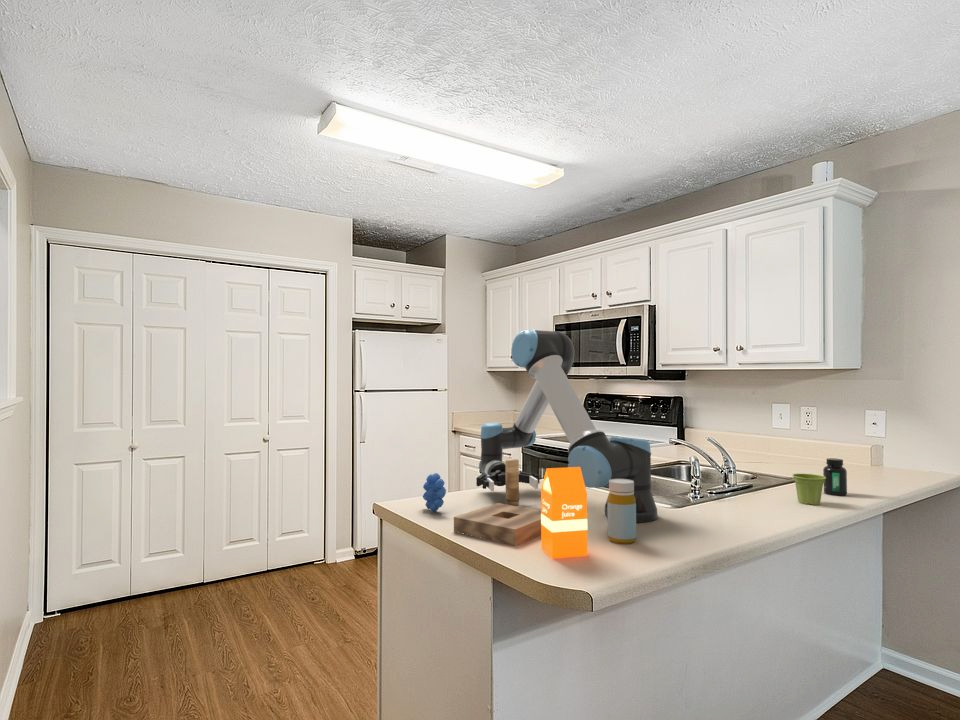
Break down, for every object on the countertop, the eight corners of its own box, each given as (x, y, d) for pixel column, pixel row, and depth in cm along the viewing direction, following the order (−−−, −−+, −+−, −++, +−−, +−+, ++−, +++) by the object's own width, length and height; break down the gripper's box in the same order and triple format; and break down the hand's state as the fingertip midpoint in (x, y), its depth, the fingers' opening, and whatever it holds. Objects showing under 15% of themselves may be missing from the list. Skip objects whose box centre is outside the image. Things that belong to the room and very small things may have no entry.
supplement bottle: (840, 497, 191) (839, 461, 191) (819, 493, 196) (819, 458, 197) (851, 494, 194) (850, 459, 194) (830, 491, 200) (829, 457, 200)
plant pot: (808, 498, 188) (807, 472, 189) (833, 505, 180) (832, 477, 180) (785, 500, 186) (785, 474, 186) (810, 507, 177) (810, 479, 177)
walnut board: (556, 527, 155) (556, 513, 155) (515, 545, 140) (515, 529, 140) (498, 516, 168) (497, 503, 168) (453, 531, 152) (453, 516, 152)
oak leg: (521, 512, 172) (521, 459, 172) (514, 515, 169) (513, 461, 169) (510, 510, 175) (510, 458, 175) (503, 513, 171) (502, 460, 172)
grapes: (456, 513, 172) (455, 473, 172) (436, 516, 168) (436, 476, 168) (437, 506, 181) (436, 468, 182) (418, 508, 178) (418, 470, 178)
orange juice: (541, 548, 137) (540, 465, 138) (575, 545, 139) (574, 464, 140) (552, 558, 130) (551, 471, 130) (588, 555, 132) (587, 469, 132)
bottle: (605, 536, 147) (604, 478, 148) (632, 536, 147) (632, 478, 147) (610, 544, 140) (610, 483, 141) (639, 544, 140) (638, 483, 140)
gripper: (534, 482, 192) (554, 495, 171) (461, 486, 187) (473, 500, 166) (533, 460, 192) (554, 471, 171) (461, 463, 187) (473, 474, 166)
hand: (515, 485), depth 169 cm, fingers open, 13 cm apart
